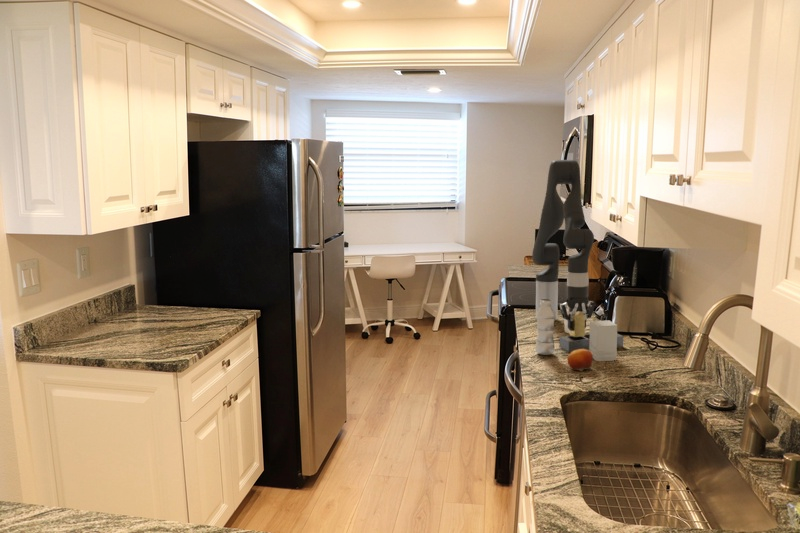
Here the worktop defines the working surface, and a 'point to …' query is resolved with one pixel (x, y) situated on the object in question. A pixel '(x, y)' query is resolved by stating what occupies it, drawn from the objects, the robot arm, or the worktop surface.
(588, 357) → the fruit
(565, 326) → the white cup
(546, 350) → the plastic bottle
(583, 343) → the gray compartment tray
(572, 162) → the robot arm
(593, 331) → the supplement box
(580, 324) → the pale yellow block
